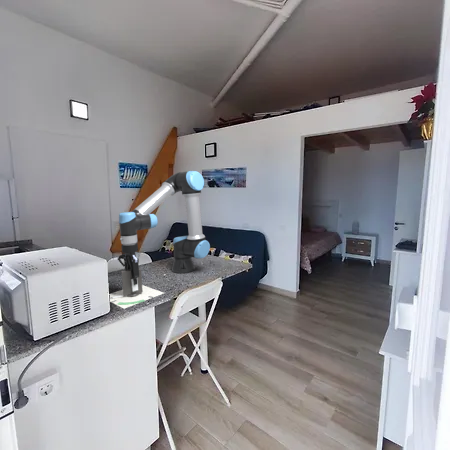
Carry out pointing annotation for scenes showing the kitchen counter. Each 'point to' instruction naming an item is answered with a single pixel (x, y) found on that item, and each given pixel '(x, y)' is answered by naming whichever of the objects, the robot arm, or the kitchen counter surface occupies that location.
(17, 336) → the kitchen counter surface
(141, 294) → the board
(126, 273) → the grey piece
